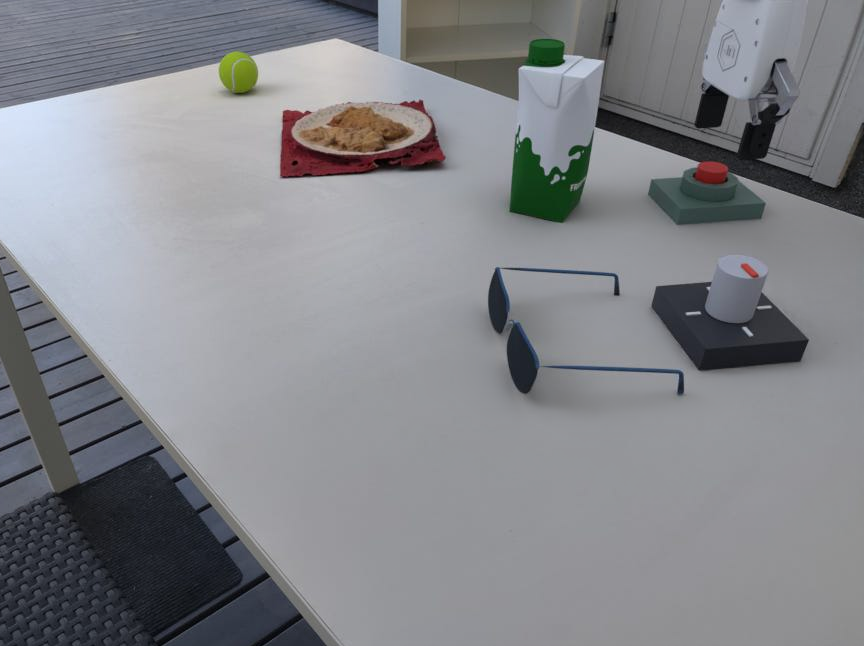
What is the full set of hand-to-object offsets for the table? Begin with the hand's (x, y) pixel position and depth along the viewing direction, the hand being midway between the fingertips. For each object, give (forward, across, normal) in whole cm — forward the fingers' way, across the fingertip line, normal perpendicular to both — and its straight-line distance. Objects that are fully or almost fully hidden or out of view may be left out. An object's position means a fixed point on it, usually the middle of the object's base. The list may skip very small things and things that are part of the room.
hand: (728, 142), depth 85 cm
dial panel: (+11, +22, -9) cm, 26 cm away
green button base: (+11, -5, +2) cm, 12 cm away
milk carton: (+11, -9, -18) cm, 22 cm away
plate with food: (+11, -36, -39) cm, 54 cm away
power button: (+7, -5, +2) cm, 9 cm away
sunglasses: (+11, +21, -24) cm, 34 cm away
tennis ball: (+11, -65, -57) cm, 87 cm away
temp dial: (+8, +21, -9) cm, 25 cm away
